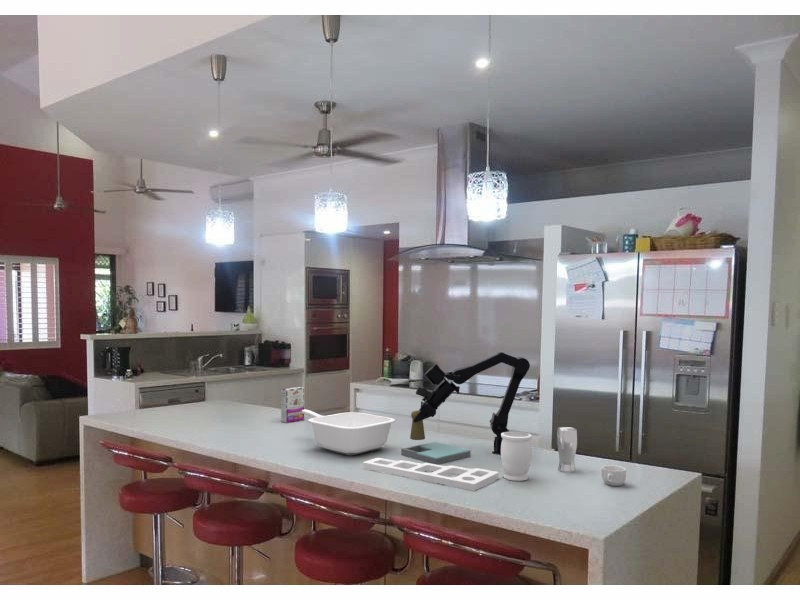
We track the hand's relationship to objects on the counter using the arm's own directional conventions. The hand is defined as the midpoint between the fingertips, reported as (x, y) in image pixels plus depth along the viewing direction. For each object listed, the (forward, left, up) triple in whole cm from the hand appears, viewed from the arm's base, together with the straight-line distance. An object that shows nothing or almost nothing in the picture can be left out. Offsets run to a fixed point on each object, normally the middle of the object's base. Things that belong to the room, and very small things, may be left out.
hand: (414, 420), depth 253 cm
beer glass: (-56, -22, -12) cm, 62 cm away
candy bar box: (+85, +2, -12) cm, 86 cm away
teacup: (-76, -18, -13) cm, 79 cm away
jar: (-50, 0, -12) cm, 52 cm away
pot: (+26, +18, -13) cm, 34 cm away
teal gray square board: (-11, -1, -12) cm, 16 cm away
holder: (-27, +19, -13) cm, 35 cm away
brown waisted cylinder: (-1, -1, -7) cm, 7 cm away
